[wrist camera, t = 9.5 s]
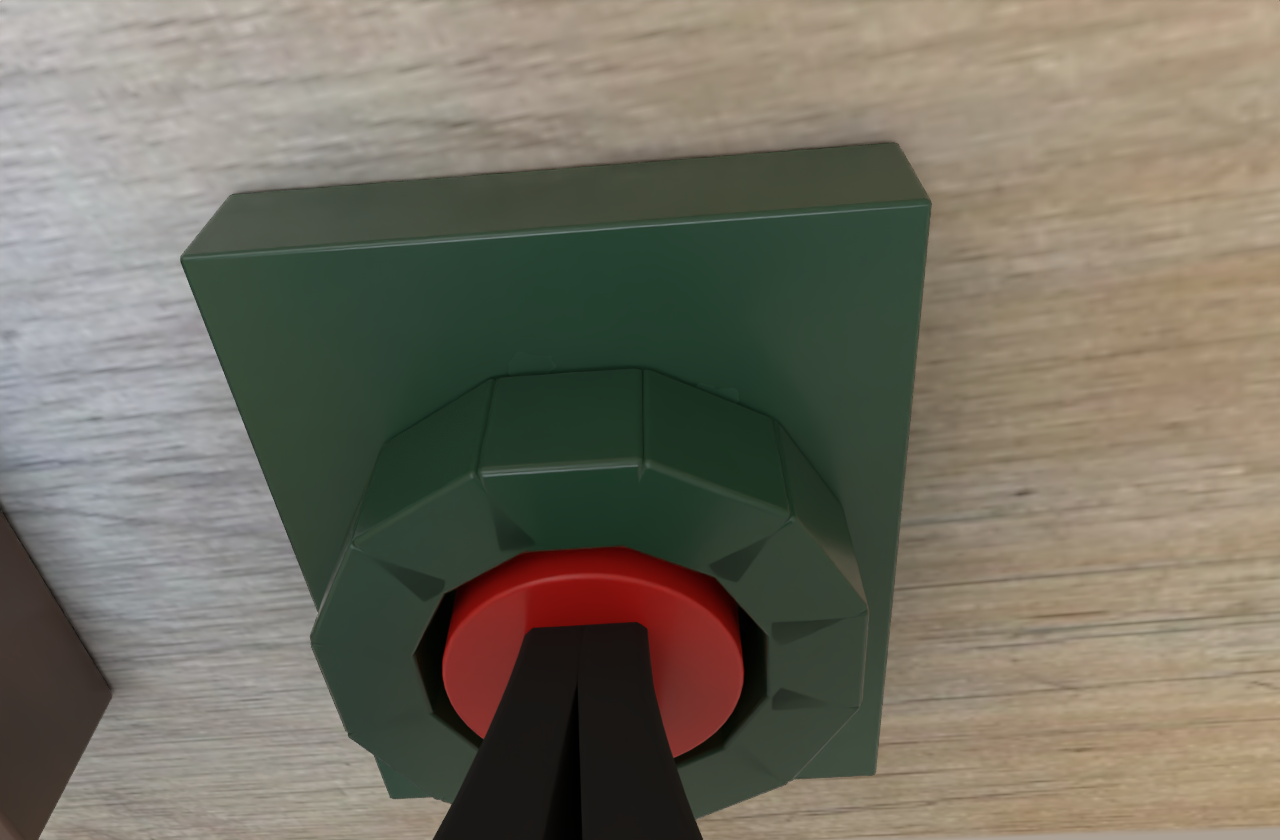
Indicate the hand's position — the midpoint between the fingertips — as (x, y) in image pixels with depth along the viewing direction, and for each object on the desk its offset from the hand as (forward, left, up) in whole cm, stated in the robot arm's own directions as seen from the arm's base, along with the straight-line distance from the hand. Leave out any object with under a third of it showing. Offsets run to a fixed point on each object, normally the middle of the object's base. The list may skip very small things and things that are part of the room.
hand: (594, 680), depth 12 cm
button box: (0, 0, -4) cm, 4 cm away
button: (0, 0, -2) cm, 2 cm away
